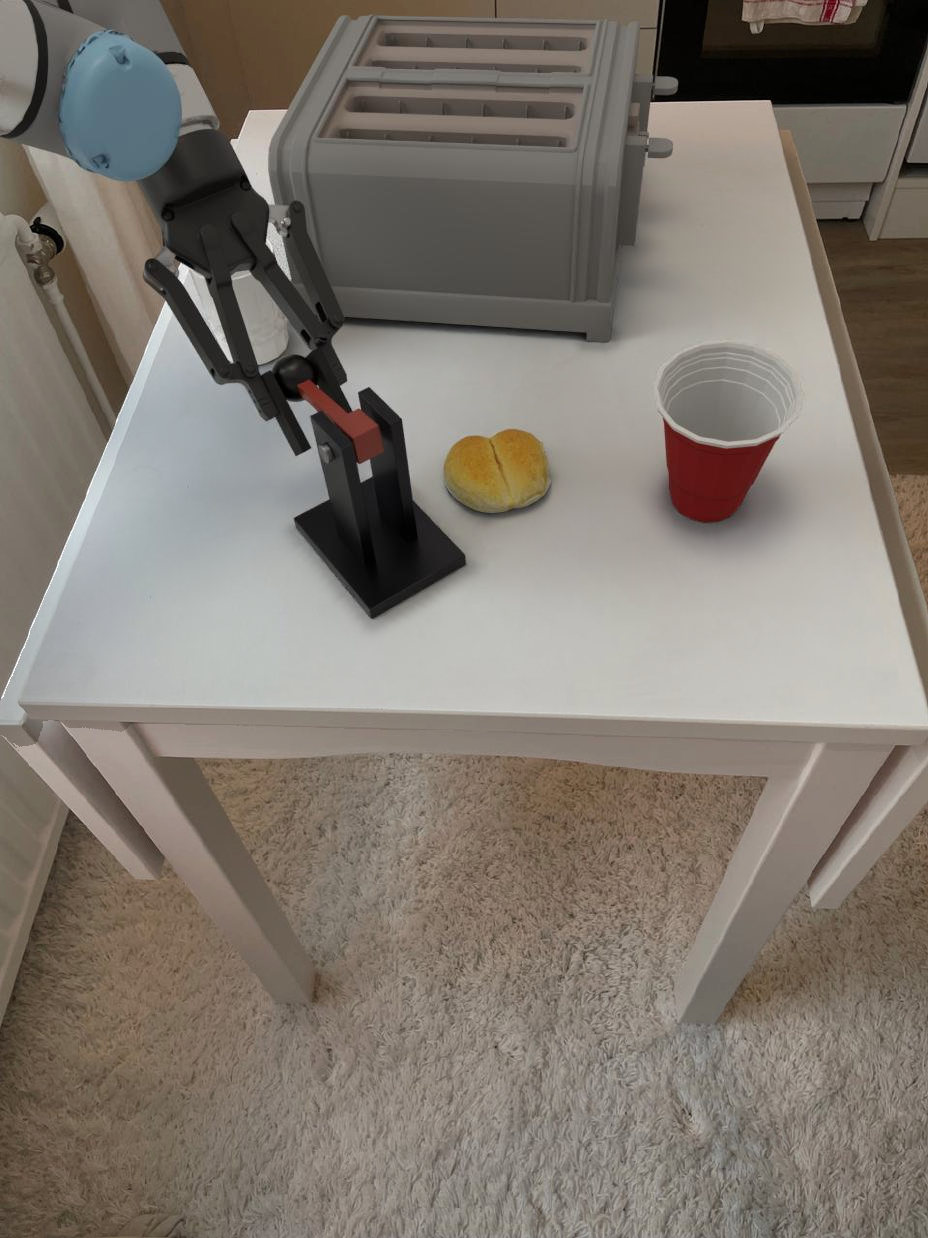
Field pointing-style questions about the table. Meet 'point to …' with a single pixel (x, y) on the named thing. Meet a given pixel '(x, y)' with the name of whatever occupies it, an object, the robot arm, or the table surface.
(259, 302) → the white cup
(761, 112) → the table surface
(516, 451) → the bread roll
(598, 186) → the toaster
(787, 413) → the plastic cup
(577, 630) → the table surface
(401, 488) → the bracket
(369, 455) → the lever
